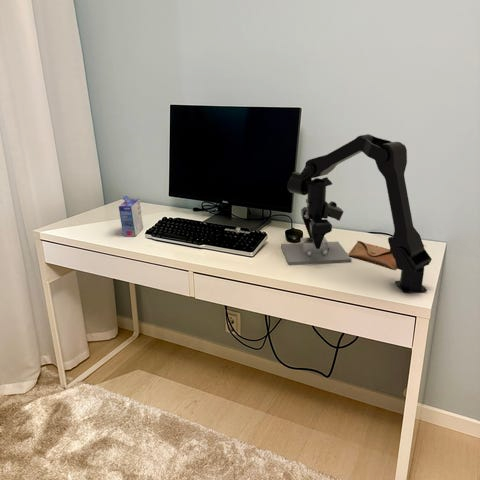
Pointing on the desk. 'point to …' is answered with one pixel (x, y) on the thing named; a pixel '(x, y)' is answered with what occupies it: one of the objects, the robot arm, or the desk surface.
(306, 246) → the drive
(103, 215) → the desk surface
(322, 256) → the pin tray
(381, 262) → the sunglasses case
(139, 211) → the ink cartridge box
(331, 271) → the desk surface
